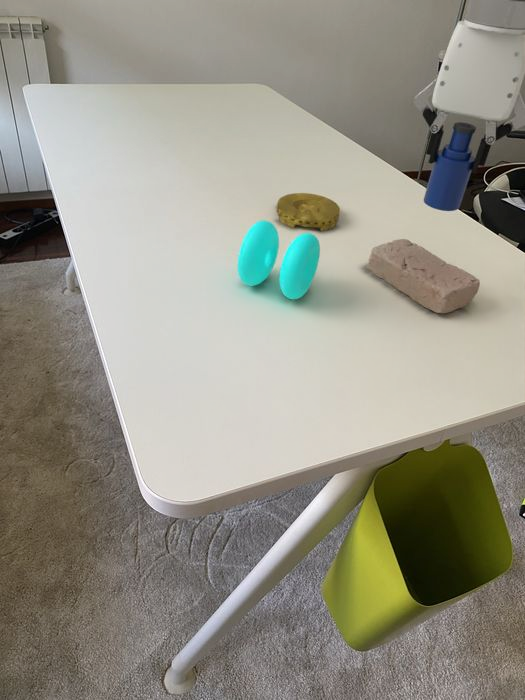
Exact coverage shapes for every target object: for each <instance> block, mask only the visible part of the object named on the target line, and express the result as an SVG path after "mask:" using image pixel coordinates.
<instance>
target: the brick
mask: <svg viewBox="0 0 525 700" xmlns="http://www.w3.org/2000/svg"><path fill="white" fill-rule="evenodd" d="M366 268H367V270H369V271H370V272H371V273H373V274H374V275H375V276H377V277H378V278H380V279H383V280H384V281H385V282H386V283H387V284H389V285H391V286H392V287H394V288H395V289H396V290H398V291H400V292H401V293H403V294H405V295H407V296H408V297H409V298H410V299H411V300H412V301H414V302H416V303H417V304H419V305H421V306H423V307H424V308H426V309H428V310H431V311H432V312H433V313H437V314H447V313H451V312H454V311H455V310H458V309H462V308H463V307H465V306H466V305H470V304H471V303H472V302H473V300H474V299H475V296H476V295H477V294H478V292H479V289H480V285H481V284H480V283H481V281H480V279H479V278H477V277H476V276H474V275H473V274H471V273H469V272H468V271H465V270H463V269H462V268H459V267H458V266H456V265H454V264H453V265H452V264H451V263H447V262H446V261H445V260H443V259H442V258H440V257H438V256H437V255H436V254H433V253H432V252H431V251H429V250H428V249H426V248H425V247H423V246H420V245H418V244H417V243H414V242H412V241H410V239H407V238H399V239H393V240H392V241H389V242H386V243H382V244H380V245H377V246H374V247H372V249H371V251H370V256H369V257H368V264H367V266H366Z"/></svg>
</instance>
